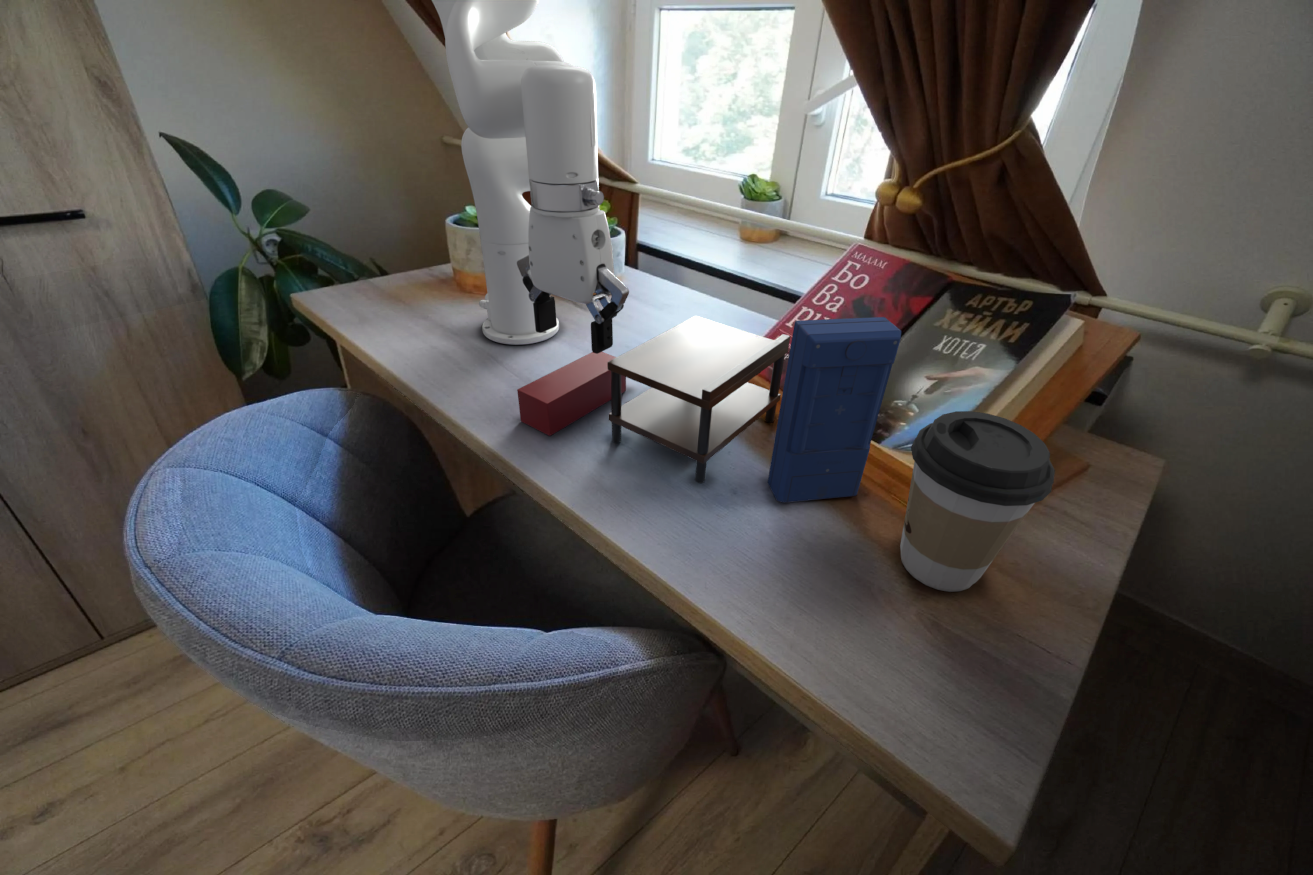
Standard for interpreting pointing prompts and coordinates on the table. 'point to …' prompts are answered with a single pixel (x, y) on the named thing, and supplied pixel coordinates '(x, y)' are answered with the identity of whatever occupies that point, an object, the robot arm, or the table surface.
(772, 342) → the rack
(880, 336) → the electronic device
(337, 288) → the table surface
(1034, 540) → the table surface
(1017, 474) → the coffee cup
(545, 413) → the red rectangular block
